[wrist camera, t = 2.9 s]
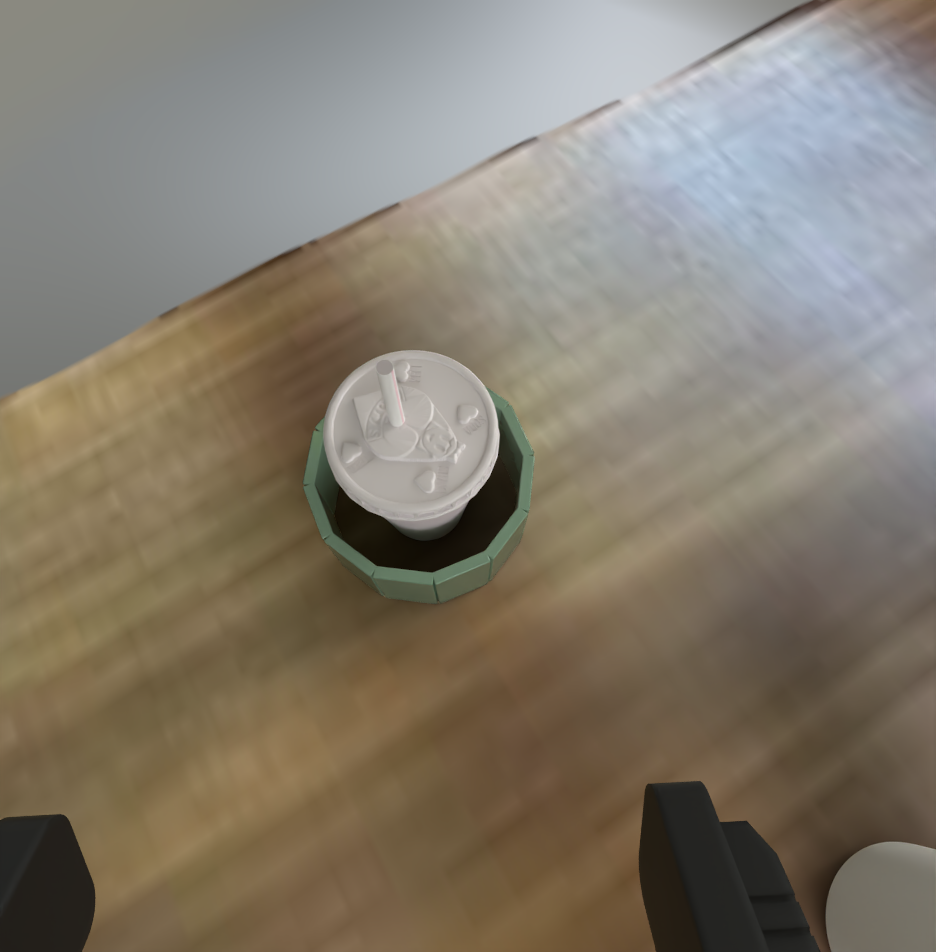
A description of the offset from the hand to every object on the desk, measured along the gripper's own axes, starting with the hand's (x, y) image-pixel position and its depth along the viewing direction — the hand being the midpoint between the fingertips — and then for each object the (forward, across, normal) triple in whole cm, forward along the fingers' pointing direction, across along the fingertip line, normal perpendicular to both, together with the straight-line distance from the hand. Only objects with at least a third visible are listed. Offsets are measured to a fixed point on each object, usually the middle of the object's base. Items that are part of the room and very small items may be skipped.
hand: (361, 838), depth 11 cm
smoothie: (+25, 0, +8) cm, 26 cm away
